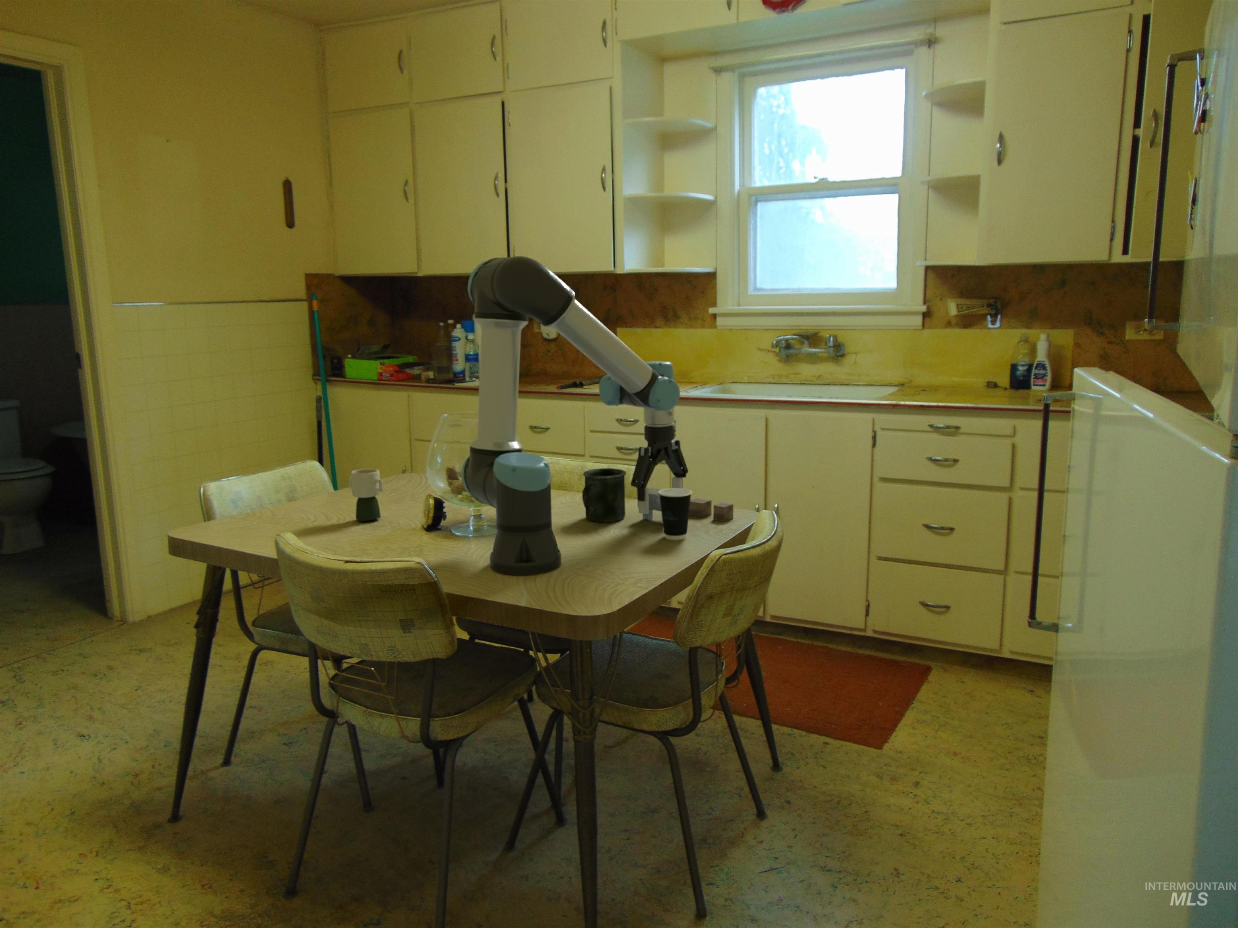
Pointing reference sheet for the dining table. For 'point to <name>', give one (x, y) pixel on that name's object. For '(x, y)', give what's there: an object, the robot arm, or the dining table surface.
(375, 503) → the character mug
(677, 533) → the dixie cup
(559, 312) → the robot arm
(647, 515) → the clip
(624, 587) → the dining table surface
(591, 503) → the mug
